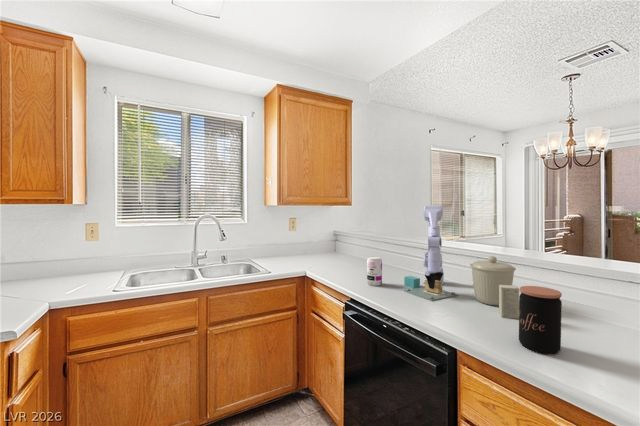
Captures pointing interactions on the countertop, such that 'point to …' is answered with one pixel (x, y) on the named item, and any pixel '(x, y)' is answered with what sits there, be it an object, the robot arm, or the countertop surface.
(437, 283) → the honey-wood brick
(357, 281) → the countertop surface
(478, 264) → the canister
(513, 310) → the skincare box
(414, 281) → the teal brick
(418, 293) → the baseplate
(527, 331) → the coffee jar
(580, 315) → the countertop surface
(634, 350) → the countertop surface
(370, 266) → the supplement can
